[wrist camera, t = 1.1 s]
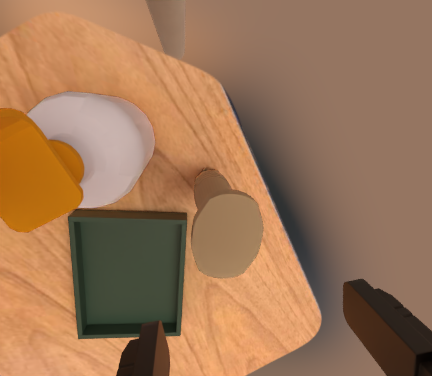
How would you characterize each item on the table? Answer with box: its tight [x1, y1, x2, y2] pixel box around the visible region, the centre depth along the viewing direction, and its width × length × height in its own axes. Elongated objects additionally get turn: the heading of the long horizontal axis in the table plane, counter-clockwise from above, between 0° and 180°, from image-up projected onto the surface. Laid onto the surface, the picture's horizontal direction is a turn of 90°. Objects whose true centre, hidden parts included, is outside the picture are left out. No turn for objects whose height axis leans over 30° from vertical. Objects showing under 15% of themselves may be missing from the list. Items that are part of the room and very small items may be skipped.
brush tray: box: [68, 209, 187, 339], centre depth 34 cm, size 17×13×2 cm
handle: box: [191, 168, 263, 278], centre depth 25 cm, size 5×6×15 cm
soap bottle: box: [0, 91, 155, 232], centre depth 18 cm, size 9×9×25 cm
